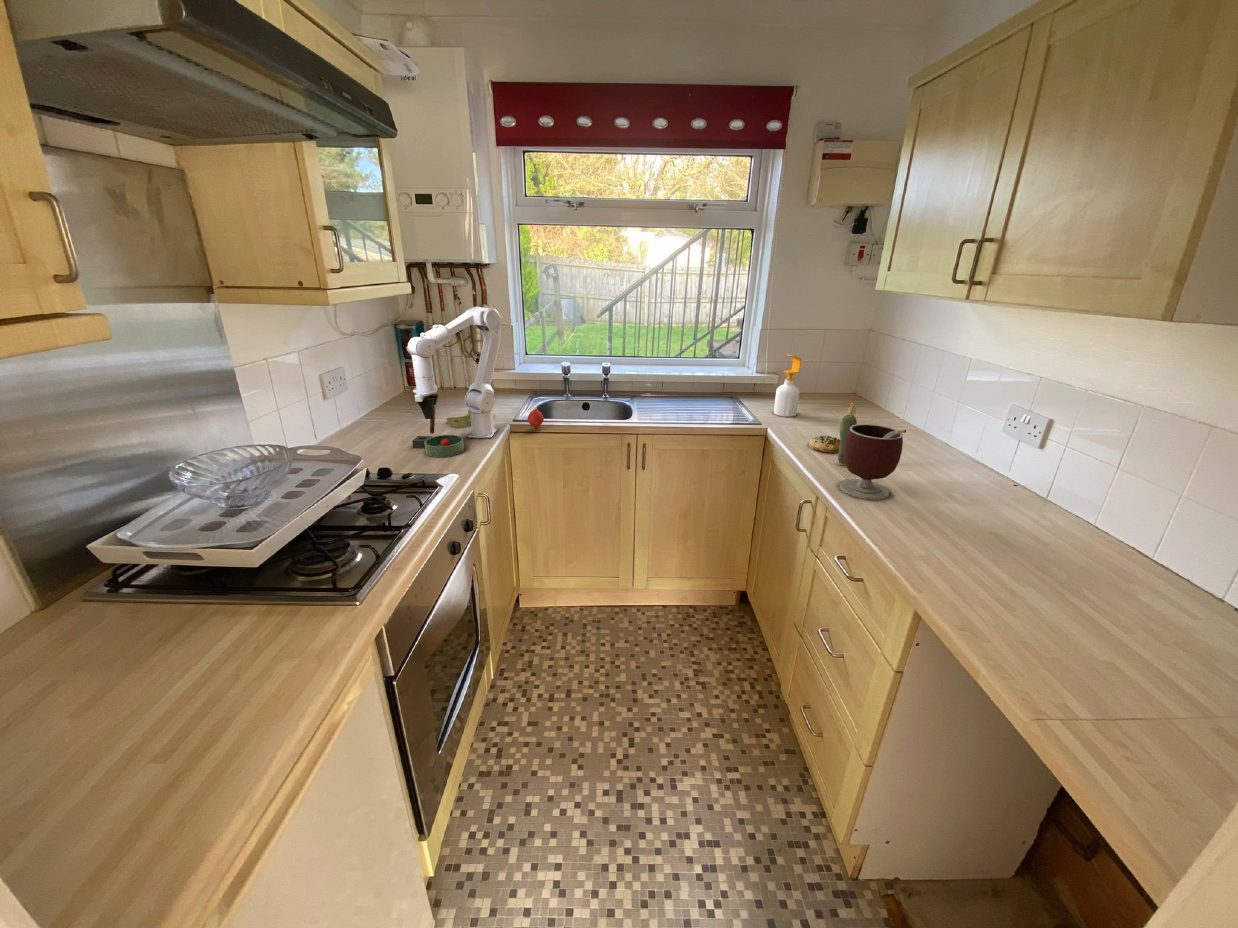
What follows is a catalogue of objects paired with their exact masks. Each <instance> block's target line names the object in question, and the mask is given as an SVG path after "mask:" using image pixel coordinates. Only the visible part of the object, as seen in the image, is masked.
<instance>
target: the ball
mask: <svg viewBox="0 0 1238 928" xmlns="http://www.w3.org/2000/svg"><path fill="white" fill-rule="evenodd" d="M449 445H450V441H449V440H448V439H443V440H442V441H441V446H449Z"/></svg>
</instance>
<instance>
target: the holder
mask: <svg viewBox="0 0 1238 928" xmlns="http://www.w3.org/2000/svg"><path fill="white" fill-rule="evenodd" d="M431 437H433V435H416V437H415V438H414V439H412V441H411V443H412V448H413V449H425V444H424V442H425V441H426V440H427V439H429V438H431Z"/></svg>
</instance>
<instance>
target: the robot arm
mask: <svg viewBox="0 0 1238 928" xmlns="http://www.w3.org/2000/svg"><path fill="white" fill-rule="evenodd" d="M502 319H503V318H502V316H501V315H500V313H499V311H498V310H497V309H496V308H494V307H484V306H478V305H475V306H473V307H471V308H469V309H466V310H465V312H464V313H461V315H459V316H458V317H456V318H454V319H453V320H452V321H450V322H448V323H447V324H445V325H443V324H434V325H432V327H431V329H429V330H427V331H426V332H421V333H420V334H419V335H420V336H413V337H411V338H410V340H409V341H408V343H407V346H406V350H407V353H409V354H410V355H411V360H412V366H413V375H414V381H415V389H413V390H412V392H413V393H414V394H415V395H414V402H416V404H417V405H418V406H419V408H420V410H421V411H422V414H423V416H424V418H425V420H430V419H432V418H433V405H435V409H437V402H438V399H439V396H440V395H439V394H438V393H437V392H438V391H439V388H438V385H437V384H436V380H435V374H434V373H435V372H434V366H433V358H432V356H433V355H434V353H435V351H436V350H437V349H439V348H441V347H443V346H444V345H446V344H447V343H449V342H450V341H451V339H452V336H453V335H455V334H456V333H458V332H460V331H462V330H464V329H466V328H468V327H469V326H474V327H475V328H477V330H479V331H480V332H481V334H482V336H483V338H484V339H483V343H482V347H481V352H480V355H479V360H478V365H477V370H476V374H475V379H474V381H473V383H471V384H470V385H469V388H468V391H466V393H465V395H464V403H465V405H466V407H468V410H470V417H471V419H470V420H471V426H470V427H471V433H470V434H469V435H468V438H470V439H471V438H472V439H473V438H477V439H478V438H479V439H481V438H482V439H490V438H492V437H493V436H494V435H495V434H496V432H497V431H498V428H495V421H494V413H493V410H492V409H493V408H494V406H495V391H494V389H493V387H492V383H493V382H492V381H493V377H494V372H495V369H496V364H497V359H498V354H499V350H500V346H501V341H502V337H503V336H502V335H503V334H502V325H501V323H502Z"/></svg>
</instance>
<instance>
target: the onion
mask: <svg viewBox="0 0 1238 928" xmlns="http://www.w3.org/2000/svg"><path fill="white" fill-rule="evenodd" d="M544 419H545V418H544V415H543V413H542V412H541V411H540V410H538V408H537V407H534V408H533V409H532V410H531V411H530V412H529V414H528V416H527V422H528V424H529V425H530V426H531V427H532V428H534V429H539V427H541V426H542V424H543V423H544Z"/></svg>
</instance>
